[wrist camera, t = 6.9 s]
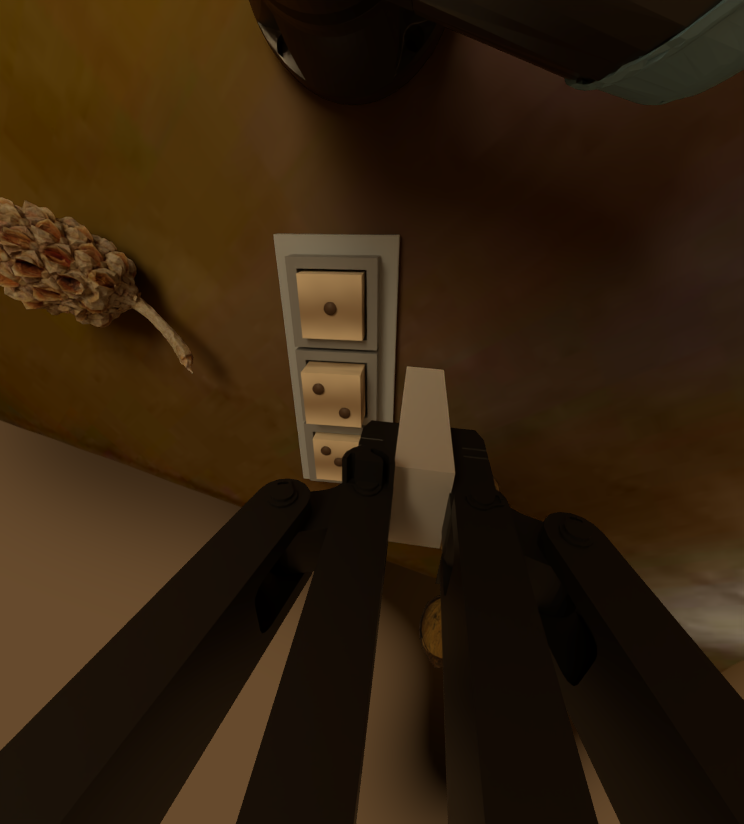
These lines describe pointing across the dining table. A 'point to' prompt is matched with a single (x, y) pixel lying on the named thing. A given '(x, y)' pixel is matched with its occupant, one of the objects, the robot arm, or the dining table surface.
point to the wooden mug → (434, 627)
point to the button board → (372, 351)
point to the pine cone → (71, 271)
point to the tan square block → (333, 303)
